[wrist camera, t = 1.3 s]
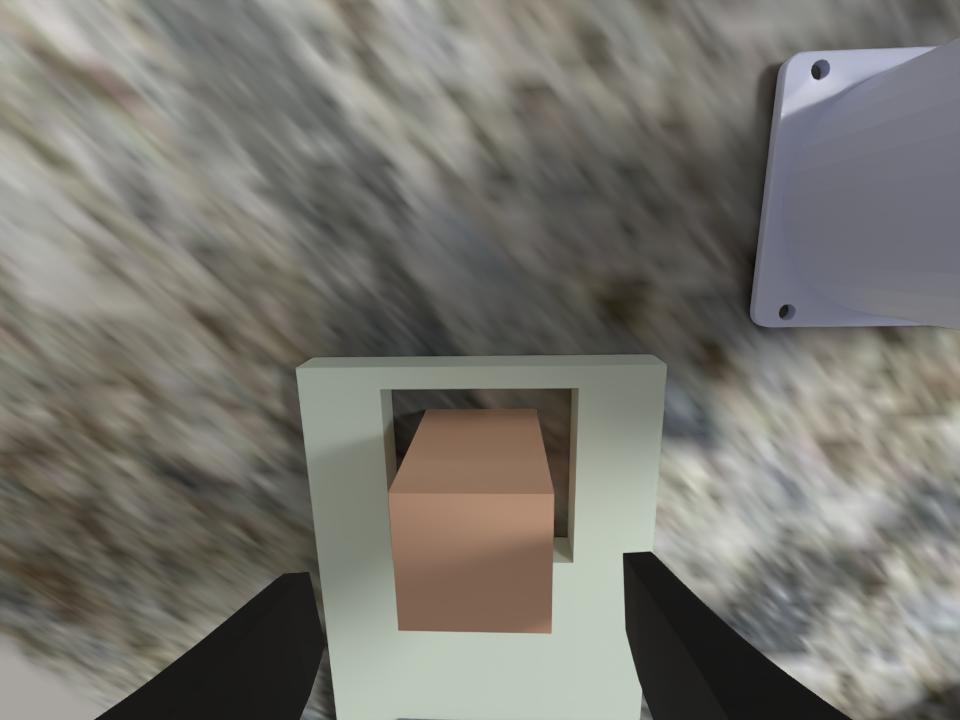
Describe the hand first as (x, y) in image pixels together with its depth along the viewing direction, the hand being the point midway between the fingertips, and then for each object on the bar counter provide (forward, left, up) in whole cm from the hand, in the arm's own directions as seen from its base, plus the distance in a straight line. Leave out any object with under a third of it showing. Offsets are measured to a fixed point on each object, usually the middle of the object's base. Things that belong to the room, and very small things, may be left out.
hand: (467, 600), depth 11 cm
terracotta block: (0, 0, -7) cm, 7 cm away
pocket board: (0, +7, -7) cm, 10 cm away
